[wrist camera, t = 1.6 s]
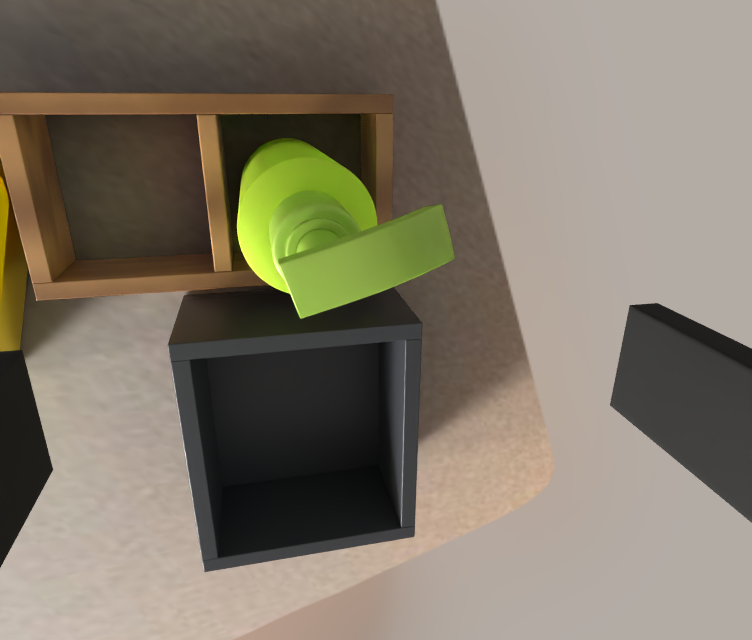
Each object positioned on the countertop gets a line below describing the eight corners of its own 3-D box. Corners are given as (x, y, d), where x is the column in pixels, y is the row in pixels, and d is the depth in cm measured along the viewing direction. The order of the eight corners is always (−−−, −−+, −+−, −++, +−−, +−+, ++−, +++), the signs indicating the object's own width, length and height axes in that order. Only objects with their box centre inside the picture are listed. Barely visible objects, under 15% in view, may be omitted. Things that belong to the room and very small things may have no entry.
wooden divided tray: (20, 93, 29) (-17, 91, 25) (376, 95, 33) (393, 94, 29) (62, 276, 33) (36, 300, 29) (375, 258, 37) (391, 277, 33)
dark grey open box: (183, 295, 35) (167, 344, 28) (389, 281, 38) (422, 322, 31) (211, 490, 41) (203, 572, 34) (387, 466, 44) (414, 537, 37)
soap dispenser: (360, 209, 36) (474, 317, 18) (261, 243, 35) (275, 392, 17) (332, 120, 33) (432, 138, 15) (226, 155, 33) (198, 218, 15)
